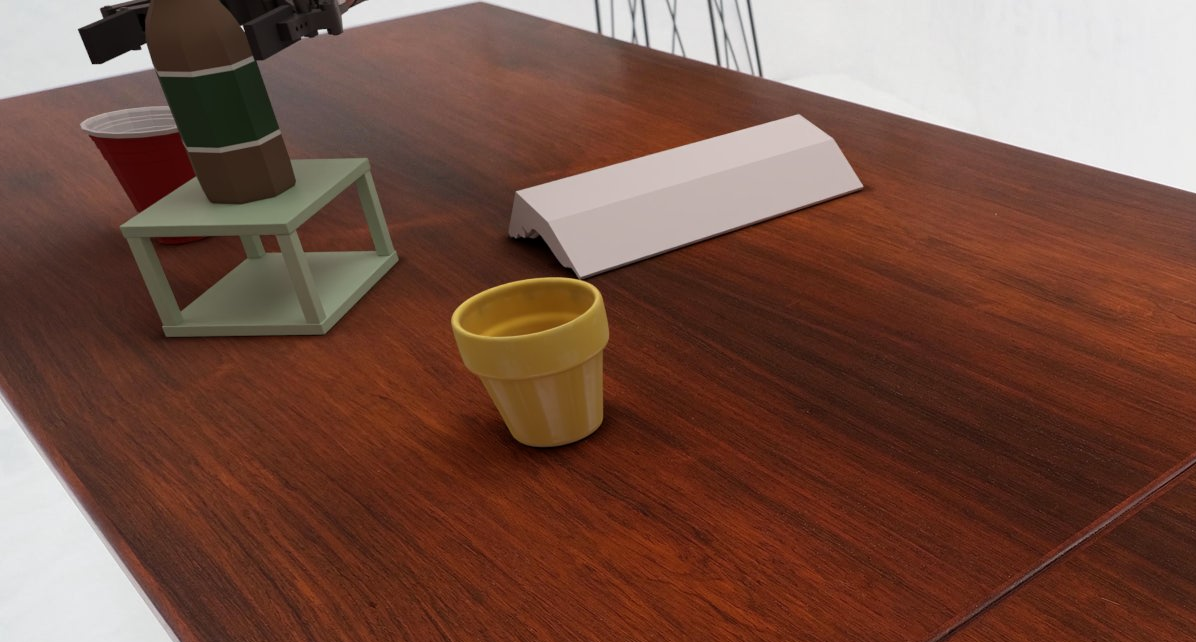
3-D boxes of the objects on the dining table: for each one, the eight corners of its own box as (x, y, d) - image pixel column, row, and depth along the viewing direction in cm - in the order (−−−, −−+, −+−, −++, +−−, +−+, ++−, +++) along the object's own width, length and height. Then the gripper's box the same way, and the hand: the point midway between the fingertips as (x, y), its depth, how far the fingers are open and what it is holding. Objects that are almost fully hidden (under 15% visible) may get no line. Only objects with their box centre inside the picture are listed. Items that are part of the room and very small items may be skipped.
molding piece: (565, 330, 126) (580, 277, 117) (508, 232, 127) (518, 173, 119) (833, 238, 143) (863, 186, 135) (780, 153, 144) (806, 96, 136)
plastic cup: (265, 229, 131) (222, 111, 124) (153, 263, 124) (101, 140, 118) (223, 206, 137) (180, 92, 130) (114, 236, 131) (63, 118, 124)
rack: (165, 337, 110) (118, 226, 105) (256, 262, 124) (219, 160, 118) (324, 334, 110) (285, 223, 104) (399, 260, 123) (368, 157, 117)
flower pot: (478, 410, 98) (443, 291, 92) (613, 381, 101) (588, 264, 96) (492, 475, 90) (456, 350, 85) (639, 441, 93) (614, 318, 88)
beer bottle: (318, 183, 112) (217, -122, 98) (235, 212, 107) (116, -106, 93) (265, 169, 116) (161, -127, 102) (182, 196, 110) (61, -112, 97)
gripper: (438, 23, 120) (339, 89, 103) (182, 30, 121) (40, 96, 104) (416, -63, 116) (308, -10, 98) (151, -56, 117) (-3, -2, 99)
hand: (170, 45), depth 101 cm, fingers open, 12 cm apart
